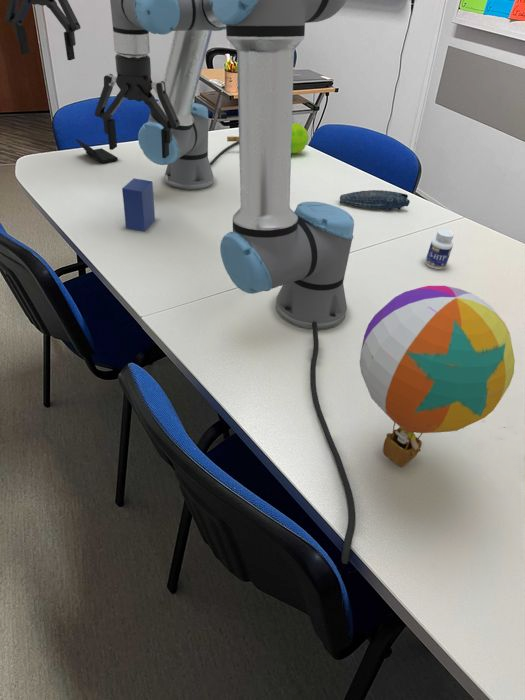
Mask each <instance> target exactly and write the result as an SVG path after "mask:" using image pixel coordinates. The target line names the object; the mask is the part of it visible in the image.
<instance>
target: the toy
mask: <svg viewBox="0 0 525 700" xmlns="http://www.w3.org/2000/svg"><path fill="white" fill-rule="evenodd" d="M360 349H361V350H360V354H359V355H360V357H359V368H360V374H361V376H362V379H363V381H364V384H365V387H366V389H367V390H368V393H369V397H370V398H371V399H372V401H373V402H374V403H375V404H376V405H377V406H378V407H379V408H380V409H381V410H382V412H384V414H385V415H386V416H387V417H388V418H389V419H390V420H391V421H392V422H393V426H392V427H393V428H392V432H391V433H390V432H389V433H387V434H386V435H385V436H386V437H385V439H384V442H383V447H382V453H383V455H384V456H385V457H386V458H387V459H389V460H390V461H391V462H392V463H394V464H395V465H396V466H398V467H399V468H403V467H404V466H406V465H407V464H408V463H410V461H412V460H413V459H414V458H415V457H416V456H417V455H418V454H419V453H420V452H421V451H422V449H421V447H422V445H423V442H422V440H421V439H420V438H421V436H422V435H423V434H433V433H447V432H448V433H449V432H456V431H459V430H461V429H464V428H466V427H468V426H470V425H473V424H475V423H477V422H479V421H481V420H483V419H485V418H486V417H488V416H489V415H490V414H491V413H492V412H494V411H495V408H497V406H498V404H499V403H500V401H501V400H502V398H503V396H504V395H505V393H506V392H507V390H508V389H509V387H510V386H511V382H512V381H513V380H512V379H513V377H514V373H515V362H516V359H515V353H514V348H513V343H512V337H511V332H510V331H509V327H507V325H506V323H505V321H504V320H503V319H502V317H501V316H500V315H499V314H498V312H497V311H496V310H495V309H494V308H493V307H492V306H491V305H490V304H489V303H488V302H487V301H485V300H484V299H482V298H481V297H479V296H478V295H477V294H474V293H472V292H469V291H466V290H463V289H461V288H458V287H453V286H448V285H425V286H421V287H417V288H413V289H409V290H407V291H404V292H402V293H400V294H398V295H396V296H394V297H393V298H392V299H391V300H390V301H389V302H388V303H386V304H385V305H384V306H383V307H382V308H381V309H380V310H379V311H377V312H376V313H375V314H374V316H373V317H372V318H371V320H370V321H369V323H368V325H367V327H366V329H365V333H364V335H363V340H362V345H361V348H360ZM396 425H397V426H398V428H397V429H395V426H396ZM415 433H416V434H417V433H418V434H419V436H418V437H417V436H416V434H415Z"/></svg>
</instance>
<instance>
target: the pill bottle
mask: <svg viewBox="0 0 525 700" xmlns="http://www.w3.org/2000/svg"><path fill="white" fill-rule="evenodd" d="M454 236H455V235H454V233H453V231H451V230H449V229H444V228H443V229H442V228H441V229H438V230H437V231H436V234H435V237H433V238H432V240H431V241H430V245H429V247H428V251H427V253H426V257H425V261H424V263H425V264H426V266H428V267H429V268H431V269H435V270H442V269H445V268H446V267H447V264H448V262H449V261H448V260H449V258H450V255H451V253H452V250H453V246H454V243H453V242H452V241H453V239H454Z"/></svg>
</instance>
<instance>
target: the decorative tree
mask: <svg viewBox="0 0 525 700" xmlns="http://www.w3.org/2000/svg"><path fill="white" fill-rule="evenodd" d="M226 138H227V139H226V142H237V141H239V136H227V137H226ZM308 141H309V132H308V131H307V128H305V127H304V126H303V125H302V124H301V123H298V122H296V123H295V122H292V138H291V154H298V153H301V152H302V151H304V150H305V148H306V146H307V145H308V143H309V142H308Z"/></svg>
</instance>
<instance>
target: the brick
mask: <svg viewBox="0 0 525 700" xmlns="http://www.w3.org/2000/svg"><path fill="white" fill-rule="evenodd" d="M153 182H154V181H153V180H148V179H141V178H134V177H133V179H131V180H130V181H129V182H128V183H127V184H126V185H124V186H123V187H122V188H121V191H122V201H123V211H124V212H123V213H124V221H125V222H124V223H125V229H127V230H131V231H132V230H133V231H138V232H144V233H145V232H146V231H147V230H148V229H149V227H150V226H151V225H152V224H153V223H155V221H156V216H155V215H156V214H155V198H154V183H153Z"/></svg>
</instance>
